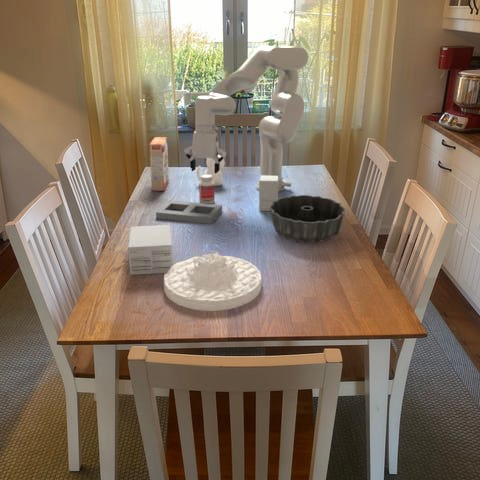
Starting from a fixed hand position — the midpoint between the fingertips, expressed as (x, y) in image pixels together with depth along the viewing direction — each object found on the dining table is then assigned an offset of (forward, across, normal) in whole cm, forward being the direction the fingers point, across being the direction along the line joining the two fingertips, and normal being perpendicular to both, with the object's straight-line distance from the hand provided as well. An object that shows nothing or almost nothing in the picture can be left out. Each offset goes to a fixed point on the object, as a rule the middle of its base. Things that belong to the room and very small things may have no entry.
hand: (204, 171), depth 212 cm
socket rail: (+13, +1, +15) cm, 20 cm away
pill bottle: (+13, -1, -1) cm, 13 cm away
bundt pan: (+13, -45, +22) cm, 52 cm away
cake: (+15, -24, +67) cm, 73 cm away
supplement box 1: (+15, -1, +57) cm, 59 cm away
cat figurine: (+13, +4, -23) cm, 27 cm away
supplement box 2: (+13, -27, 0) cm, 30 cm away
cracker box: (+14, +25, -15) cm, 32 cm away
